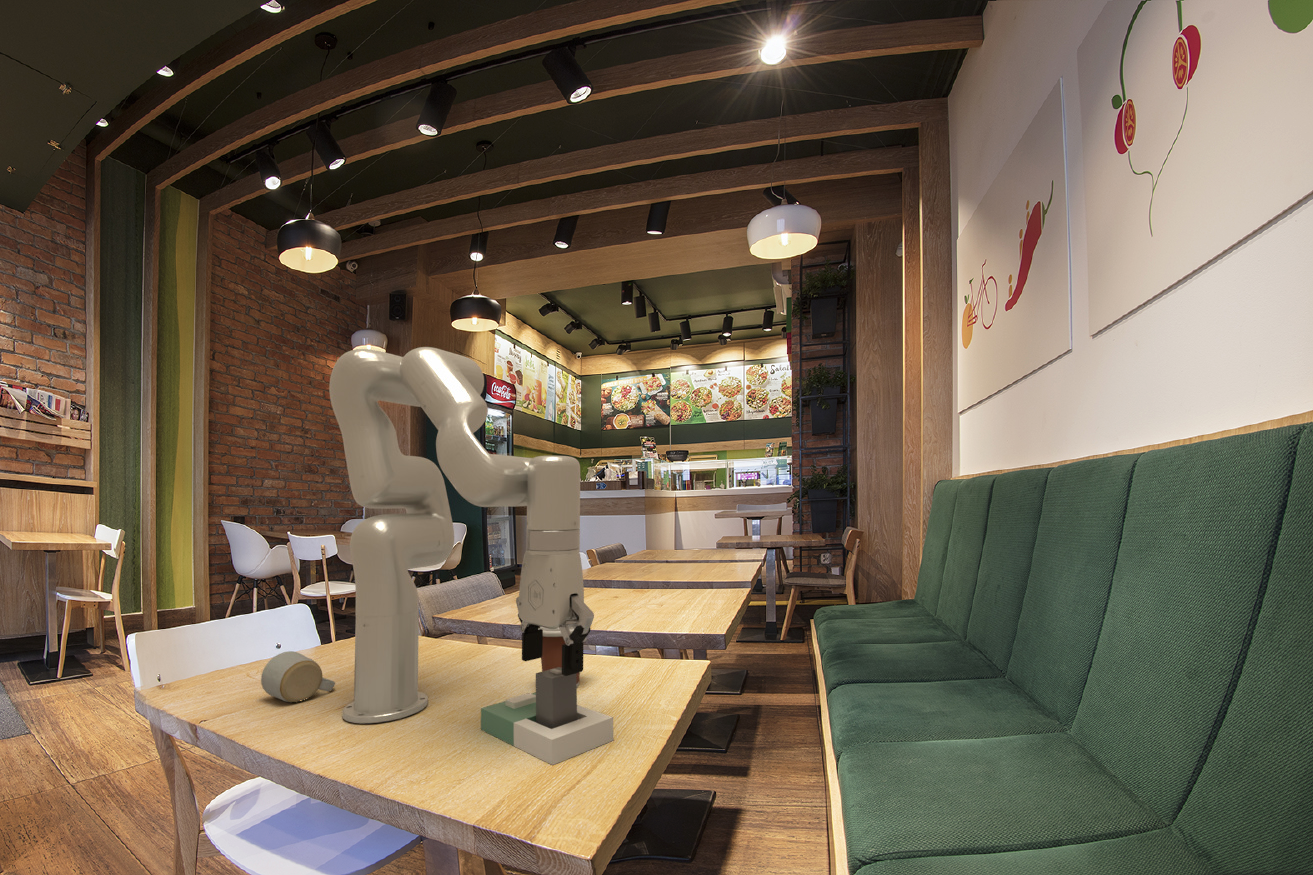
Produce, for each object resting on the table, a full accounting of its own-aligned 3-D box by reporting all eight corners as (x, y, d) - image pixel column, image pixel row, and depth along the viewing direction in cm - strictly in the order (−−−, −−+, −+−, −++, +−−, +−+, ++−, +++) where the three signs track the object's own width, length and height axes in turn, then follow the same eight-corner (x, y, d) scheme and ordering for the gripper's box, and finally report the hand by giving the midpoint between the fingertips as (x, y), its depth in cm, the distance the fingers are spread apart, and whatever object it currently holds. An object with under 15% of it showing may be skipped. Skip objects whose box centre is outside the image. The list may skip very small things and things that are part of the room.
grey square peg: (536, 741, 81) (535, 670, 82) (560, 732, 84) (559, 664, 85) (553, 748, 78) (552, 676, 79) (577, 739, 81) (576, 669, 82)
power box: (480, 729, 86) (480, 702, 86) (539, 710, 93) (538, 685, 93) (552, 764, 73) (551, 732, 73) (613, 740, 80) (612, 711, 80)
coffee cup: (553, 676, 111) (552, 611, 113) (595, 680, 108) (594, 613, 109) (525, 691, 103) (524, 621, 104) (570, 696, 99) (568, 623, 101)
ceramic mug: (279, 709, 98) (282, 661, 99) (258, 701, 103) (261, 655, 104) (343, 693, 106) (345, 649, 107) (322, 686, 111) (324, 644, 112)
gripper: (498, 540, 87) (495, 659, 86) (568, 547, 75) (566, 686, 73) (541, 537, 93) (539, 649, 91) (612, 544, 80) (612, 673, 79)
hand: (551, 665), depth 82 cm, fingers open, 9 cm apart
